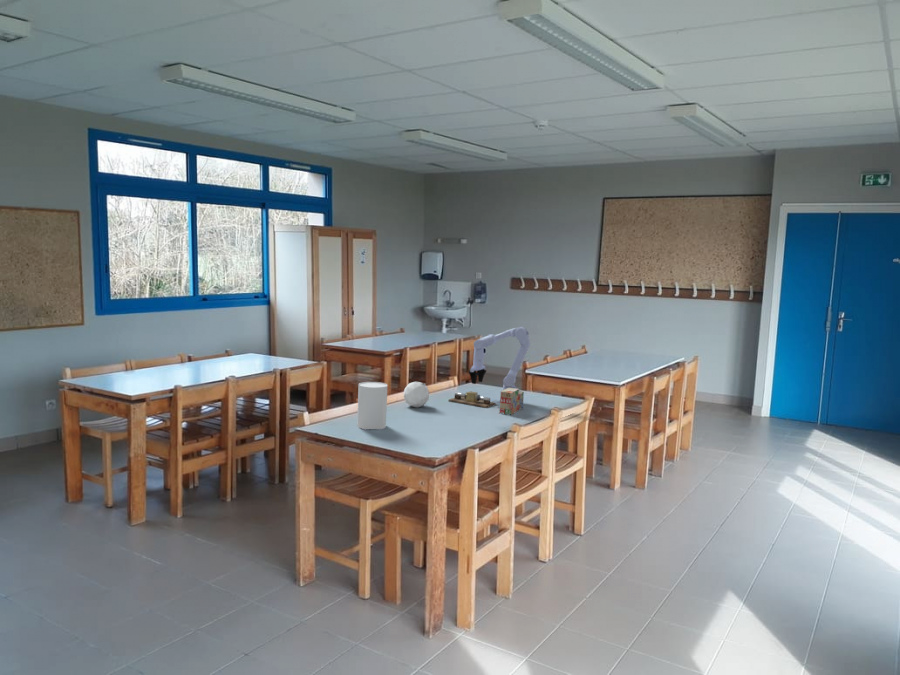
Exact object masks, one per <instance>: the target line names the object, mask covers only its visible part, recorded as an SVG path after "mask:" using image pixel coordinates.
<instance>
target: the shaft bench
mask: <svg viewBox="0 0 900 675" xmlns="http://www.w3.org/2000/svg"><path fill="white" fill-rule="evenodd" d="M448 402H450V403H456V404H462V405H466V406H467V405H468V406H473V407H479V408H485V409H487V408H490V407H492V406H496V402H494V401H490V402H489V401H486V400H484V401H483V400H479V401H476V402H469V401H466V399H465V397H460V396H458V395H455V394H454V397H453V398H450V399H448Z"/></svg>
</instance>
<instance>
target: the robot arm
mask: <svg viewBox="0 0 900 675" xmlns="http://www.w3.org/2000/svg"><path fill="white" fill-rule="evenodd" d="M508 337H512V338H516V339H517V340H518V342H519V344H520V346H519V349H518V352H517V354H516V356H515V358H514V360H513V362H512V364H511V366H510V369H509V371H508V373H507V375H505V377H504V378H503V380H502V383H503V385H502V391H503V390H505V389H507V388H515V389H519V391H520V388H518V387H516V384H515V383H516V382H517V375H518V372H519V370H520V368H521V366H522V363H523V361H524V360H525V358H526V354H527V353H528V351H529V349H530V347H531V341H530V340H531V339H530V333H529V332H528V329H527V328H526V327H524V326H518V327H514V328H510V329H507V330H504V331H503V332H501V333H498V334H493V333H489V334H487V335H486V336H483V337H482V336H481V337H480V338H479V339H478V338H477V339H476V340H474V342H473V358H472V359H473V360H472V361H473V362H472V363H473V364H472V366H471V368H470V369H469V371H468V374H469V375H470V379H471V384H472V385H473V384H474V385H476V383H477V381H478V382H479V383H482V382H483V379H484V376H485V375H486V372H487V369H486V365H484V353H485V352H484V349H485V348H487V347H489V346H492V345H495V344H497V342H498V341H499V340H502V339H505V338H508Z"/></svg>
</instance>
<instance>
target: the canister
mask: <svg viewBox="0 0 900 675" xmlns="http://www.w3.org/2000/svg"><path fill="white" fill-rule="evenodd" d="M357 388H358V390H357V394H358V395H357V415H356V416H357V419H356V420H357V421H356V422H357V423H356V427H357V428H358V427H359V428H358V429H361V428H362V430H366V429H379V430H383V429H385V428H386V427H387V406H388V405H387V403H388V384H387V383H385V382H379V381H364V382H363V381H362V382H359V383H358V386H357Z"/></svg>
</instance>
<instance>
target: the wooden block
mask: <svg viewBox="0 0 900 675" xmlns="http://www.w3.org/2000/svg"><path fill="white" fill-rule="evenodd" d="M466 393H467V394H466V401H469V402H476V401H477V400H476V397H477V395H479V394H478V391H477V392H476V391H466Z"/></svg>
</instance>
